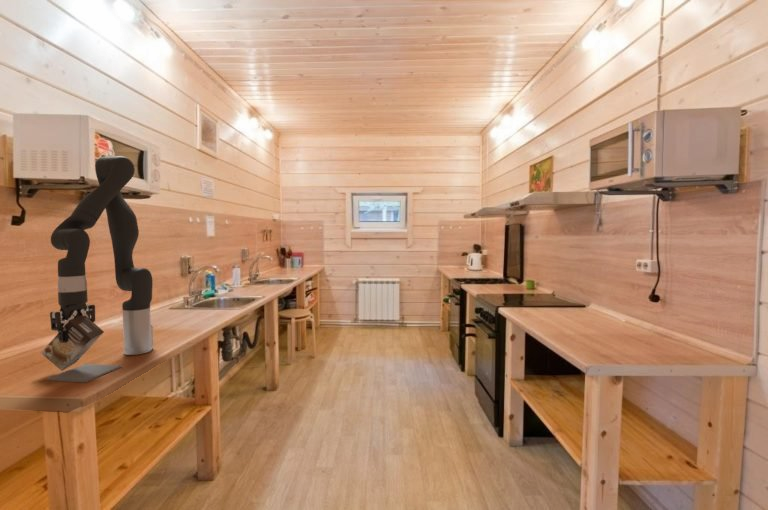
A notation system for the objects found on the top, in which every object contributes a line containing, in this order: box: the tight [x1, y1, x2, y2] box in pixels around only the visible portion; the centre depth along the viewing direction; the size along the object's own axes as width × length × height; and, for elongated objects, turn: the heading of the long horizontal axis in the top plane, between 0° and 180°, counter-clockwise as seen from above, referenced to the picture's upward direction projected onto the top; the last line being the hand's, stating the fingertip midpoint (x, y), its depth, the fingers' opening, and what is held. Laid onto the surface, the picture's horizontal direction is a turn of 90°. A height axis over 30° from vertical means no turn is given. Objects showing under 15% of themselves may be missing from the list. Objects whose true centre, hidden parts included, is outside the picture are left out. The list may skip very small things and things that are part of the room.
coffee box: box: [40, 315, 105, 372], centre depth 129 cm, size 9×6×16 cm
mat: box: [46, 363, 122, 383], centre depth 130 cm, size 14×14×1 cm
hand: (75, 339), depth 129 cm, fingers closed on coffee box, 7 cm apart
